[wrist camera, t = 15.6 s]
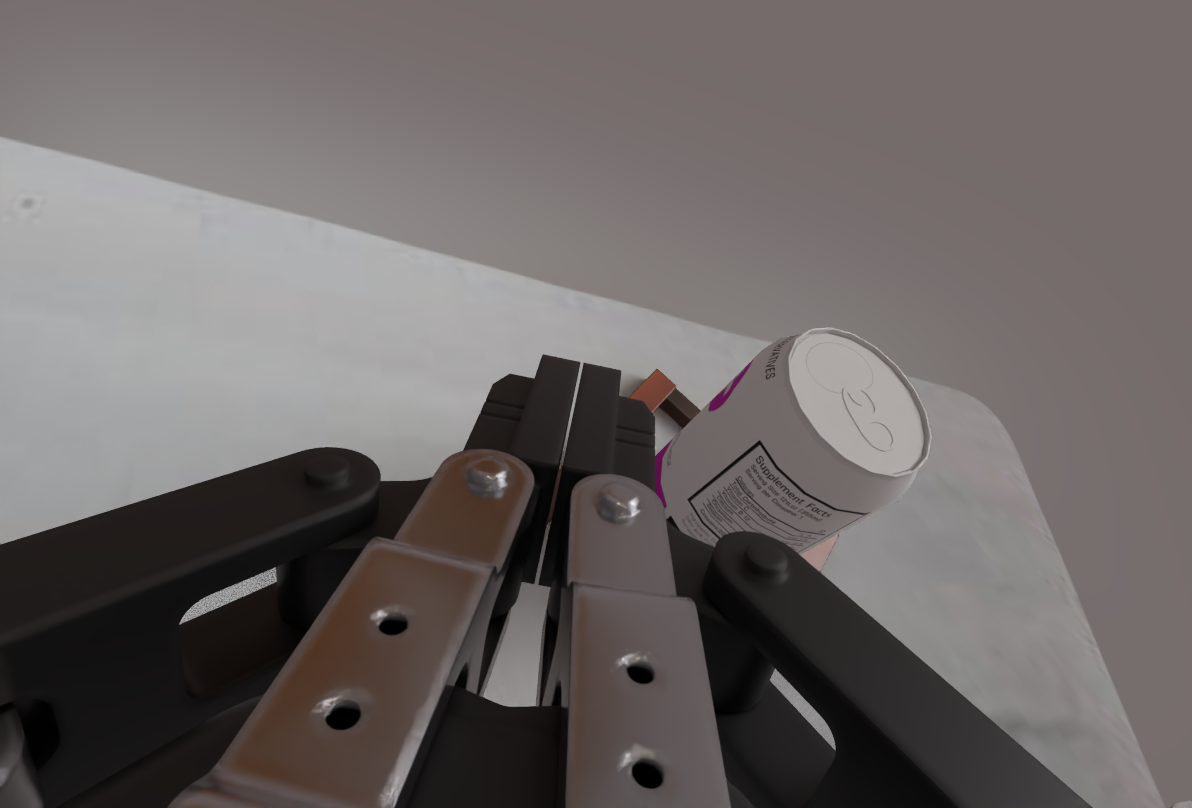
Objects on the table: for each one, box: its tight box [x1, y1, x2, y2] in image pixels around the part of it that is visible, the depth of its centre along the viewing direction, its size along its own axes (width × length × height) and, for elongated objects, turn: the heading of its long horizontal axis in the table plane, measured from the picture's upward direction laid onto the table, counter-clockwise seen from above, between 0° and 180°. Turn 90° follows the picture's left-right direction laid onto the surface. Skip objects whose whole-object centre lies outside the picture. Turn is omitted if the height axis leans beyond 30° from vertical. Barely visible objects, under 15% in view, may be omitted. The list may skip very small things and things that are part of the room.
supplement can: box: [655, 327, 932, 555], centre depth 34 cm, size 8×8×15 cm
